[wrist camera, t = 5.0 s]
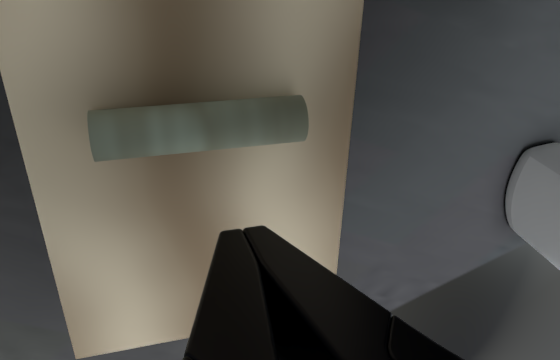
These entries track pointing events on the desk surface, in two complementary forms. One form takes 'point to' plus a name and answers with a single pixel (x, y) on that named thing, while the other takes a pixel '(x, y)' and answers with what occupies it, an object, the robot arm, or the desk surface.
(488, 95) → the desk surface
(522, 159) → the eye dropper bottle
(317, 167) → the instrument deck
